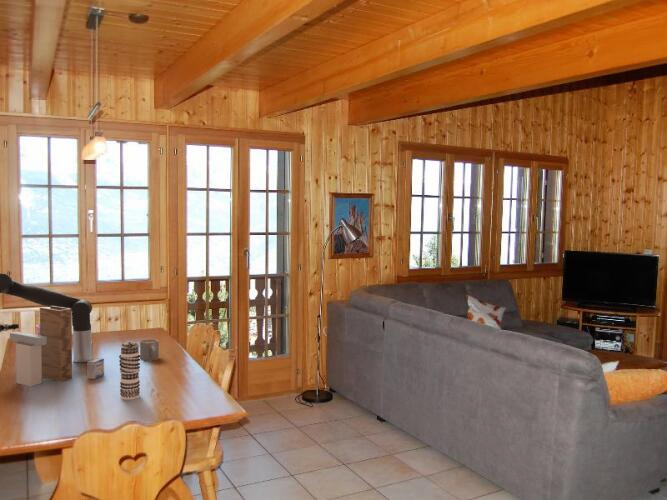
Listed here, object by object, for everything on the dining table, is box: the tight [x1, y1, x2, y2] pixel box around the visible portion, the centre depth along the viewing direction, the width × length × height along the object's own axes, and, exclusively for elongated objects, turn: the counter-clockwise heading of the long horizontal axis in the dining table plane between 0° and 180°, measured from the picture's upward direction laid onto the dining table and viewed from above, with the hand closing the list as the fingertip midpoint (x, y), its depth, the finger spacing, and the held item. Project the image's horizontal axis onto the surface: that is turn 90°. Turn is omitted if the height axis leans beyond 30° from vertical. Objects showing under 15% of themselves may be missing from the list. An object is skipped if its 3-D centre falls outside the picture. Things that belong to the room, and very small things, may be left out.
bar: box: [9, 331, 47, 346], centre depth 290 cm, size 4×21×4 cm, turn 63°
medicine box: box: [86, 357, 105, 380], centre depth 304 cm, size 8×4×9 cm, turn 168°
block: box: [15, 341, 43, 387], centre depth 291 cm, size 6×10×20 cm, turn 64°
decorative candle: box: [118, 340, 141, 400], centre depth 274 cm, size 9×9×25 cm
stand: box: [39, 306, 73, 382], centre depth 300 cm, size 7×14×35 cm, turn 64°
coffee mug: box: [139, 338, 160, 361], centre depth 339 cm, size 13×10×10 cm
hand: (11, 326), depth 298 cm, fingers open, 8 cm apart
